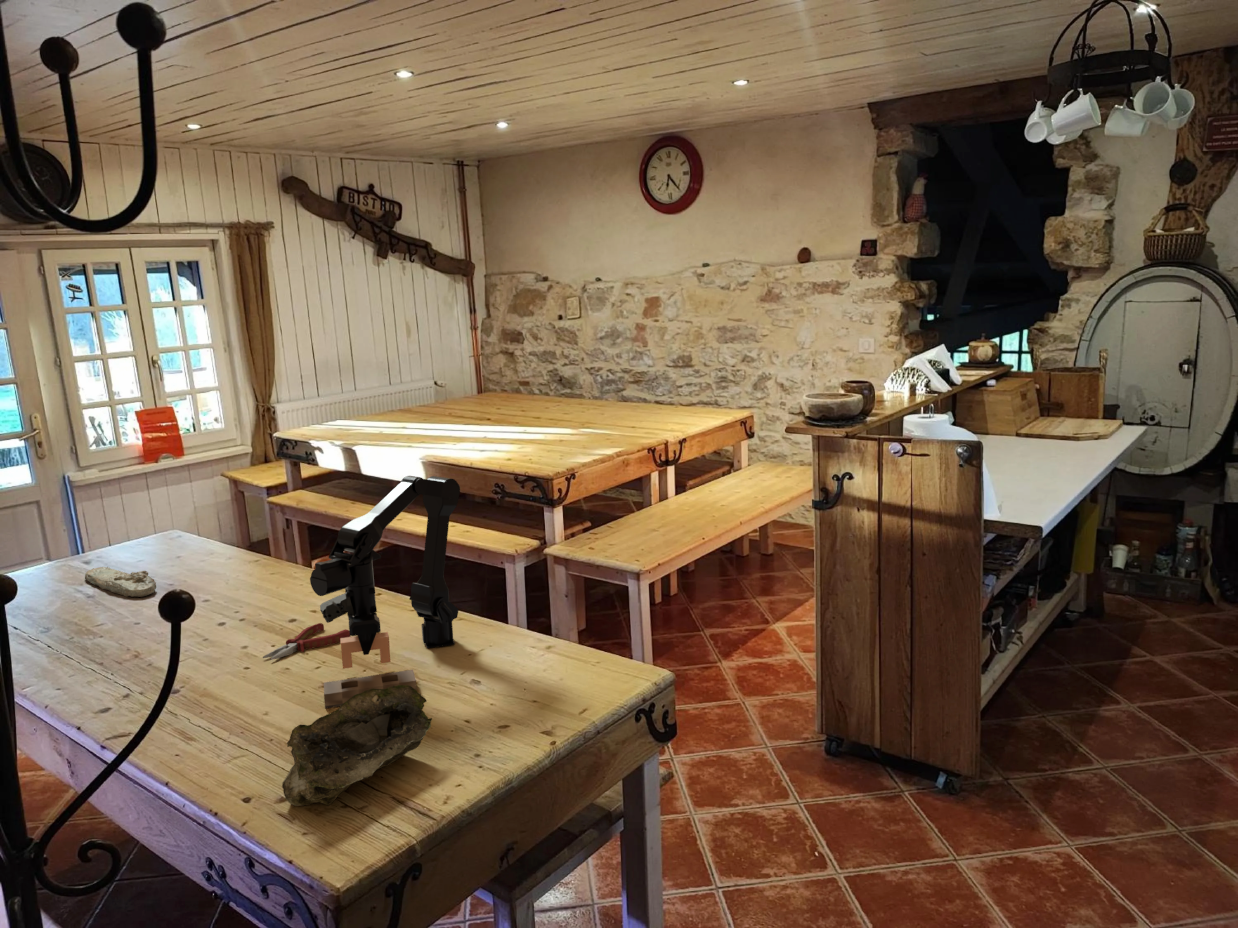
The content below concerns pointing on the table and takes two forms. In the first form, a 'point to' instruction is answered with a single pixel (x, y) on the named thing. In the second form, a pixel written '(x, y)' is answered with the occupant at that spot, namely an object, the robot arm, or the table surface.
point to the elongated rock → (122, 581)
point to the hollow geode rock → (353, 743)
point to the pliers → (307, 641)
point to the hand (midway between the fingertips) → (365, 651)
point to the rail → (364, 686)
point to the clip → (353, 645)
